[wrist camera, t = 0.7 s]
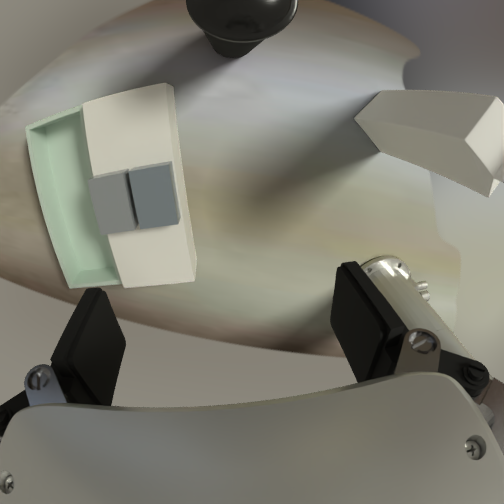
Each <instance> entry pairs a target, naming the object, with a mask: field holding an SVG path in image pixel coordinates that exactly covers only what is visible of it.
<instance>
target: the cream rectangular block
mask: <svg viewBox="0 0 504 504" xmlns="http://www.w3.org/2000/svg"><path fill="white" fill-rule="evenodd" d="M82 104H83V114H84V122H85V129H86V137H87V143H88V149H89V155H90V161H91V166H92V172H93V176H95V175H100V174H104V173H109V172H113V171H118V170H123V169H128V168H129V171H130V170H131V169H133V168H134V167H139V166H144V165H150V164H156V163H162V162H168V161H172V164H173V171H174V178H175V184H176V191H177V197H178V204H179V210H180V216H181V218H180V221H179V224H178V225H170V226H162V227H155V228H147V229H140V226H139V224H138V226H137V228H136V229H135V230H133V231H126V232H119V233H112V234H107V235H108V239H109V242H110V246H111V249H112V252H113V256H114V259H115V262H116V265H117V268H118V272H119V275H120V278H121V281H122V284H123V286H124V288H130V287H141V286H152V285H163V284H173V283H183V282H193V281H195V274H196V265H197V257H196V251H195V246H194V240H193V234H192V228H191V222H190V216H189V209H188V203H187V196H186V189H185V182H184V175H183V168H182V160H181V152H180V144H179V136H178V127H177V118H176V108H175V98H174V87H173V86H171V85H169V84H167V83H166V82H165V83H160V84H155V85H150V86H145V87H140V88H136V89H132V90H128V91H123V92H120V93H116V94H112V95H108V96H105V97H101V98H98V99H95V100H91V101H88V102H85V103H82Z"/></svg>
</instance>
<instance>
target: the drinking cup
mask: <svg viewBox="0 0 504 504" xmlns="http://www.w3.org/2000/svg"><path fill="white" fill-rule="evenodd" d="M186 5H187V10H188V12H189V15H190V17H191V18H192V20H193V21H194V23H195V24H196V25H197V26H198V27H199V28H200V29H202V30H203V31H204V33H205V34H206V36H207V38H208V39H209V41H210V43H211V44H212V46H213V48H214V49H215V51H216V52H217V53H219V54H220V55H222V56H224V57H228V58H238V57H242V56H244V55H246V54H247V53H249V52H250V51H251V50H252V49H253V48H255V47H256V46H257V45H258V44H260V43H261V42H262V41H263V40H265V39H267V38H269V37H272V36H274V35H276V34H277V33H279V32H280V31H282V30H283V29H284V28H285V27H286V26H287V25H288V24H289V23H290V22H291V21H292V19H293V18H294V16H295V14H296V11H297V7H298V0H186Z"/></svg>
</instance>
